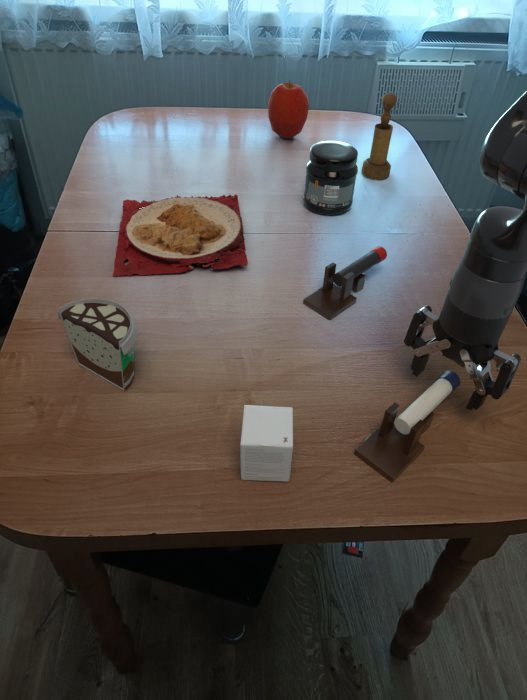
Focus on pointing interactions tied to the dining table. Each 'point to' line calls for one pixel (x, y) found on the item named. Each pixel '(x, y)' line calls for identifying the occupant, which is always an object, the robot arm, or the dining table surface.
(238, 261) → the plate with food
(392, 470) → the white marker stand
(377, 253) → the black marker
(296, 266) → the dining table surface
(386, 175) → the mortar and pestle
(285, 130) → the apple
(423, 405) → the white marker
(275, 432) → the product box
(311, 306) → the black marker stand
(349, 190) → the supplement container
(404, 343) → the robot arm
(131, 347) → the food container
